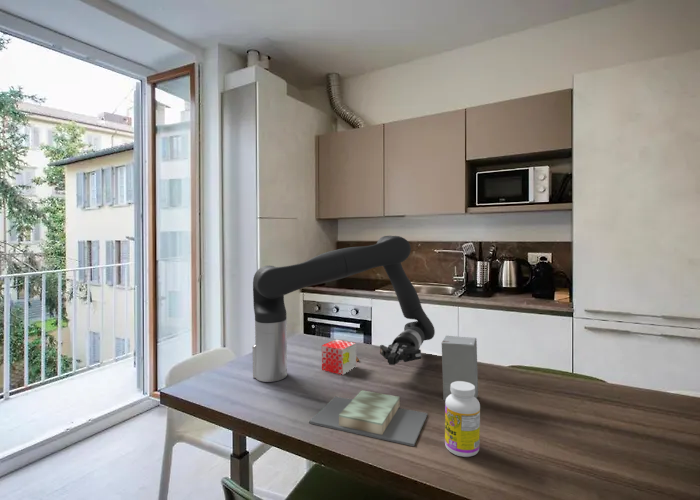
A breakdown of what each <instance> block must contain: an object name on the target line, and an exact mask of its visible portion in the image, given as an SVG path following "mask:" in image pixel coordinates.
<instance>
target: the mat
mask: <svg viewBox="0 0 700 500" xmlns="http://www.w3.org/2000/svg"><path fill="white" fill-rule="evenodd" d="M353 399H354V398H353ZM353 399H352V398H347V397H341V396H336V395H335V396H334V397H332V399H331V400H330V401H329V402H328V403H327V404H325V405H324V407H322V408H321V409H320V410H319V411H318V412H317V413H316V414H315V415H314V416H313V417H312V418H311V419H310V420H309V422H308V423H309V424H311V425H316V426H320V427H325V428H329V429H334V430H338V431H341V432H342V431H343V432H347V433H351V434H356V435H361V436H364V437H365V436H366V437H369V438H374V439H379V440H383V441H387V442H392V443H397V444H401V445H406V446H409V447H415V445H416V443H417V440H418V438H419V436H420V434H421V432H422V428H424V424H425V422H426V420H427V418H428V416H429V415H428V412H425V411H424V412H423V411H419V410H418V411H417V410H413V409H407V408H402V407H401V408H400V407H399V408H398V410H397V411H396V413H395V415H394V416H393V418H392V420H391V421H390V423H389V424H388V426H387V428H386V429H385V431H384V433H383V434H382V435H381V434H376V433H372V432H367V431H362V430H358V429H353V428H349V427H344V426H339V414H340V413H341V412H342V411H343V410H344V409H345V408H346V407H347V406H348V404H349V403H350V402H351V401H352V400H353Z"/></svg>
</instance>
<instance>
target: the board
mask: <svg viewBox="0 0 700 500" xmlns="http://www.w3.org/2000/svg"><path fill="white" fill-rule="evenodd" d="M400 398H401V397H400V396H397V395H391V394H387V393H386V394H385V393H379V392H374V391H368V390H364V389H362V390H360V392H358V394H357V395H356V396H355V397H354V398H353V400H352V401H351V402H350V403H349V404H348V406H347V407H346V408H345V409H344V410H343V411H342V412H341V413H340V414H339V426H344V427H349V428H353V429H358V430H362V431H367V432H372V433H376V434H381V435H382V434H383V433H384V431H385V429H386V428H387V426H388V424H389V423H390V421H391V420H392V418H393V416H394V415H395V413H396V411H397V410H398V408H400V405H401V404H400V402H401V401H400V400H401V399H400Z"/></svg>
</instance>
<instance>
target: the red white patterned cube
mask: <svg viewBox="0 0 700 500" xmlns="http://www.w3.org/2000/svg"><path fill="white" fill-rule="evenodd" d="M356 357H357V343H356V342H352V341H347V340H341V339H334V340H331V341H329V342H327V343H324V344H322V345H321V371H324V370H325V372H328V371H329V373H333V374H337V375H341V374H342V375H341V376H343V375H346V372H347V373H348V372H350V371H352V370H354V369H355V368H357V361H356ZM354 367H355V368H354ZM353 368H354V369H353ZM351 369H352V370H351ZM349 370H350V371H349Z"/></svg>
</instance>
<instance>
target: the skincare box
mask: <svg viewBox="0 0 700 500" xmlns="http://www.w3.org/2000/svg"><path fill="white" fill-rule="evenodd" d="M477 341H478V339H477V337H469V336H467V337H466V336H457V335H456V336H455V335H454V336H453V335H445V337H443V339H442V341H441V360H442V361H441V363H442V364H441V365H442V366H441V367H442V393H443V395H442V397H443V398H442V400H443V401H444V402H445V401H446V398H447V397H448V396H449V395H450V394H452V393H451V390H450V387H451V383H453V382H456V381H464V382H468V383H471V384H473V385H474V386H475V395H474V397H475V398H476V399H477V400H478V397H479V396H478V395H479V382H478V381H479V380H478V379H479V378H478V377H479V375H478V374H479V373H478V344H477Z"/></svg>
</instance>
